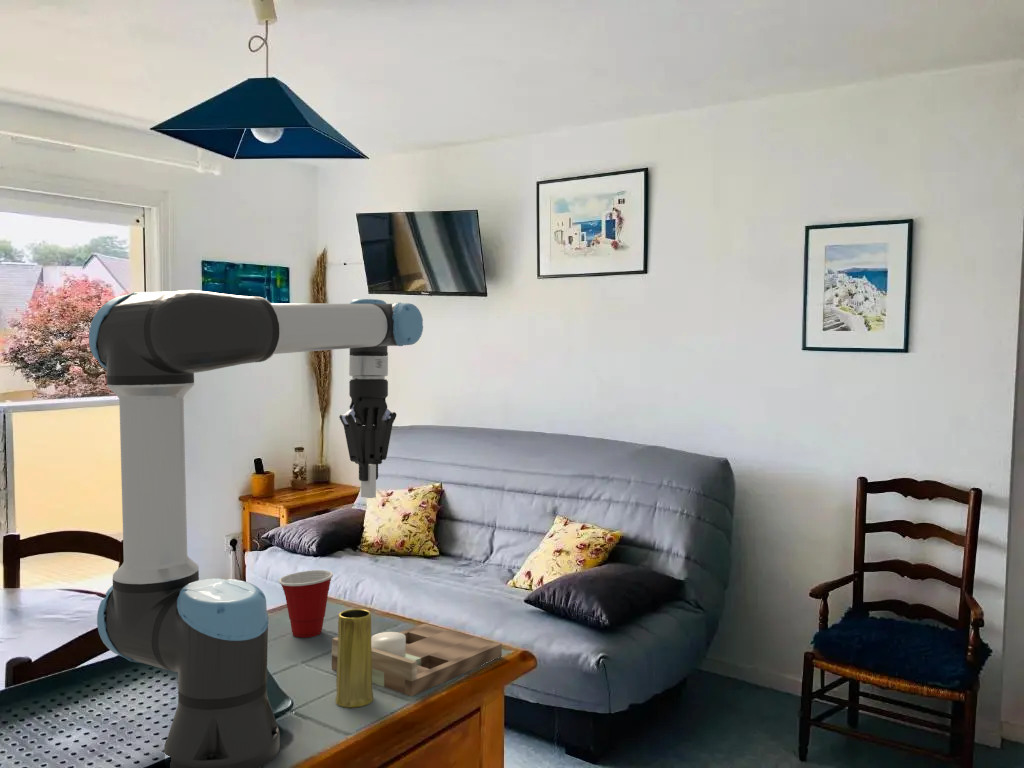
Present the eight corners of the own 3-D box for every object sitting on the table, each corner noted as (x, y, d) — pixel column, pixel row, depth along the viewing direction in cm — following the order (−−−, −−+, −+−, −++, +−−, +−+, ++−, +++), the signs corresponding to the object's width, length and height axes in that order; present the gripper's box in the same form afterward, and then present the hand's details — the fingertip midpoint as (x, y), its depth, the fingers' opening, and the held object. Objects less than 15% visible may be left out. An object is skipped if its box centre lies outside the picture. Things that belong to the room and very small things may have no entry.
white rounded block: (384, 668, 140) (384, 645, 140) (364, 659, 144) (364, 636, 144) (412, 660, 144) (412, 637, 144) (392, 651, 148) (392, 629, 148)
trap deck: (411, 696, 134) (411, 663, 134) (331, 669, 146) (331, 638, 146) (501, 657, 153) (501, 627, 153) (424, 635, 165) (424, 608, 165)
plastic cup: (283, 625, 171) (283, 569, 171) (335, 624, 172) (335, 568, 172) (273, 642, 160) (274, 582, 160) (329, 641, 162) (329, 581, 162)
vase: (370, 691, 136) (370, 606, 136) (376, 705, 130) (376, 617, 130) (333, 696, 134) (333, 609, 134) (337, 710, 128) (338, 620, 128)
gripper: (355, 378, 153) (354, 503, 154) (406, 378, 164) (405, 495, 164) (330, 377, 158) (329, 499, 159) (381, 377, 168) (380, 491, 169)
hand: (368, 496), depth 161 cm, fingers closed
